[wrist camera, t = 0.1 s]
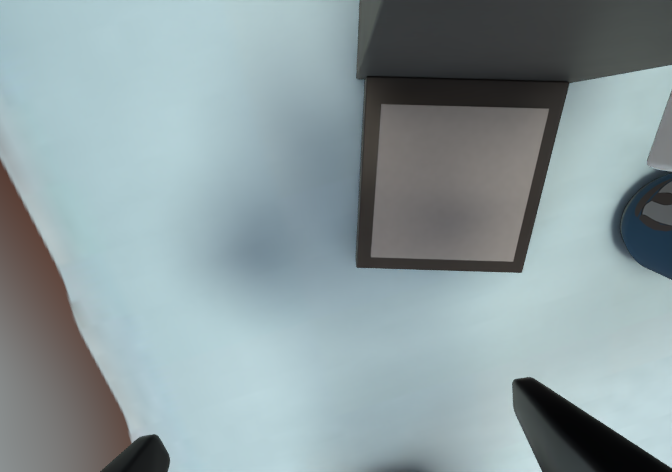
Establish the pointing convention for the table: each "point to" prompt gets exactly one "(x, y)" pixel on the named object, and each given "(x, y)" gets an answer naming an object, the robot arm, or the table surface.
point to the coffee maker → (480, 118)
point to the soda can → (650, 226)
